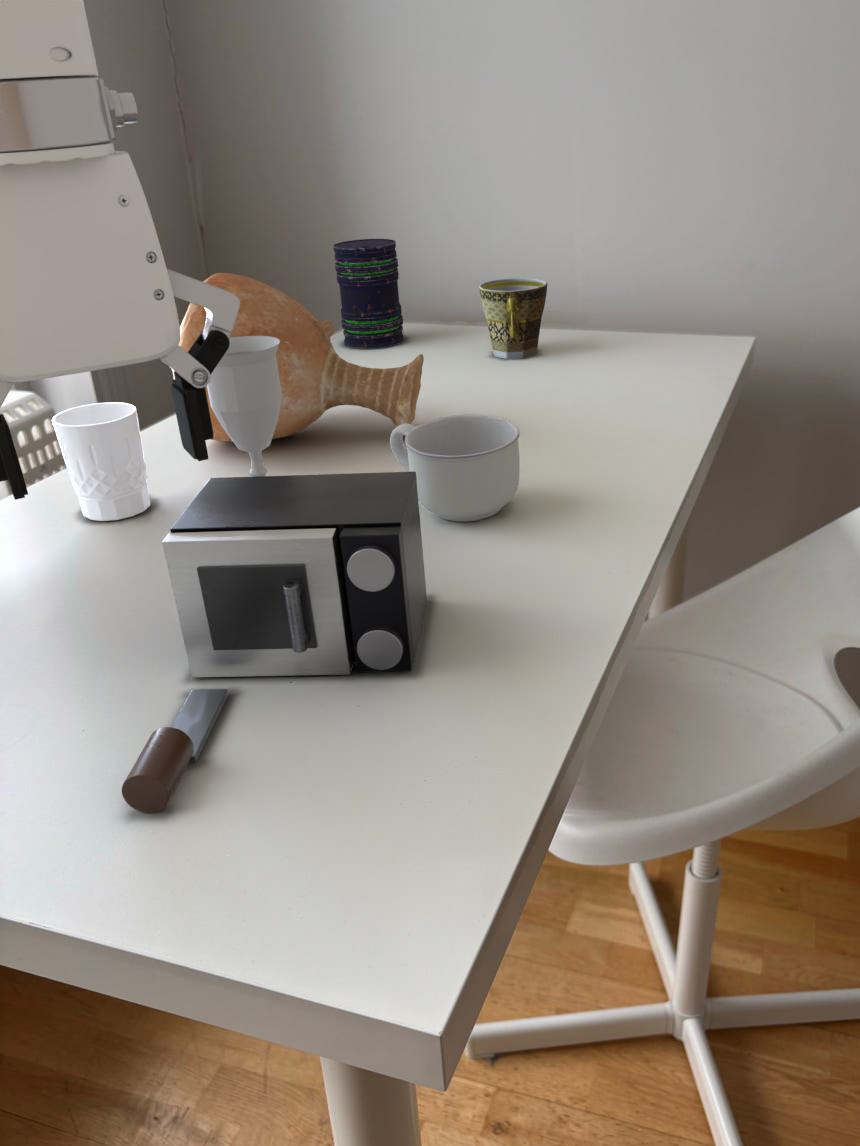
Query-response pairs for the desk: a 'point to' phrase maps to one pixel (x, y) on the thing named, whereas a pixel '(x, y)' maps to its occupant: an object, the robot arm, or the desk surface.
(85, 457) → the white cup
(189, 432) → the robot arm
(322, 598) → the microwave door
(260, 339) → the chalice
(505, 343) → the ceramic cup
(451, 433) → the teacup
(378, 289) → the storage jar
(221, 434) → the jug
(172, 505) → the desk surface
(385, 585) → the microwave
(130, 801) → the knife
